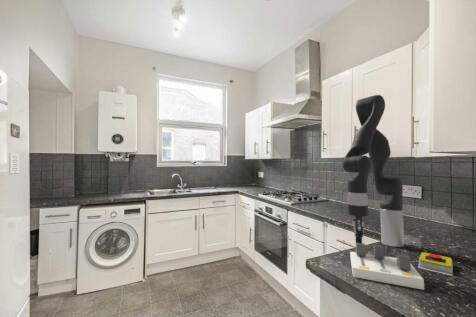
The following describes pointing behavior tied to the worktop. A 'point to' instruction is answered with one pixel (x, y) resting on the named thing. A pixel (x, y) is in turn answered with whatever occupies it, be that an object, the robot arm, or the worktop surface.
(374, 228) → the worktop surface
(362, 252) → the switch
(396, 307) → the worktop surface
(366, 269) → the switch panel
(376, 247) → the switch
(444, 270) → the emergency button
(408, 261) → the switch
